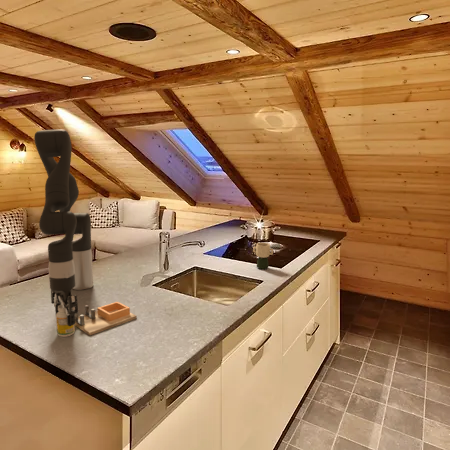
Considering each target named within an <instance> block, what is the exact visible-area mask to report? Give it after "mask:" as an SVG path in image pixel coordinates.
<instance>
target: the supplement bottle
mask: <svg viewBox="0 0 450 450" xmlns="http://www.w3.org/2000/svg"><path fill="white" fill-rule="evenodd" d="M67 305H68V304H67ZM68 310H69V308H68ZM58 311H59V312H58V313H57V314H56V313H55V319H56V331H57V335H58V336H59V337H64V338H65V337H70V336H72V335H74V333H76V332H75V331H76V328H75V327H76V326H75V324H74V325H72V326H68V325H67V314H66V311H65V309H63V307H62V304H61V305H59V306H58Z"/></svg>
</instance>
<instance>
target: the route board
mask: <svg viewBox="0 0 450 450" xmlns="http://www.w3.org/2000/svg"><path fill="white" fill-rule="evenodd" d="M115 311H118V309H116V310H112V311H109V313H112V312H115ZM89 313H90V314H91V312H89ZM83 315H84V323H85V325H84V326H81V325H79V324H78V323H76V322H75V327H77V328H78V329H80V330H81V331H82V332H84V333H85V334H87V335H88V336H92V335H95V334H98V333H100V332H103V331H106V330H109V329H111V328H114V327H117V326H120V325H123V324H125V323H127V322H131V321H133V320H137V318H138V317H137V316H138V315H136V314H134V313H132V312H130V314H129V315H126V316H123V317H120V318H118V319H115V320H112V321H108V320H107V319H105V318H103V317H101V316H100V315H98V310H95V317H96V319H93V320H92V319H91V318H89V317H87V316H86V315H85V314H83ZM78 319H79V320H80V316H78Z"/></svg>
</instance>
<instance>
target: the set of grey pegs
mask: <svg viewBox="0 0 450 450" xmlns="http://www.w3.org/2000/svg"><path fill="white" fill-rule="evenodd" d="M95 311H96V309H95V308H92V309H91V308H90V305H88V304H86V305H84V314H80V315H79V312H78V313H76V314H75V322H76V323H78V324H79V325H81V326H84V325H85V323H84V315H86V316H87V317H89V318H91V319H92V320H93V319H96V317H95ZM90 313H91V314H90ZM78 317H80V320H79V319H78Z"/></svg>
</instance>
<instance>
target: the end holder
mask: <svg viewBox="0 0 450 450" xmlns="http://www.w3.org/2000/svg"><path fill="white" fill-rule="evenodd" d="M116 309H118V311H115V312H112V313H109V311H112V310H116ZM96 311H98V315H100V316H101V317H103V318H105V319H107V320H108V321H112V320H115V319H118V318H120V317H123V316H126V315H129V314H130V313H131V309H130V307H129V306H127V305H126V304H123V303H121V302H120V301H115V302H112V303H108V304H106V305H102V306H100V307H97V309H96Z"/></svg>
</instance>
